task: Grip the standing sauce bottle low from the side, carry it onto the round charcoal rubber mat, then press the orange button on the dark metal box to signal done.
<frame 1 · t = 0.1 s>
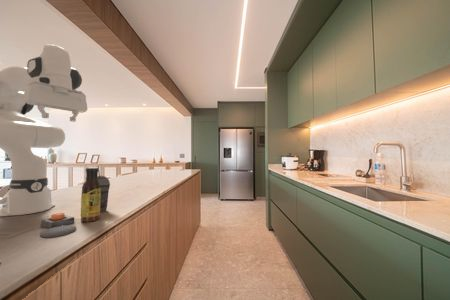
hand: (59, 119, 82), 39 cm above the worktop, tool pointing down, fingers open, 8 cm apart
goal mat: (58, 232, 67), on the worktop
button housing: (57, 224, 74), on the worktop
sauce bottle: (90, 220, 79), on the worktop
beverage cup: (100, 212, 90), on the worktop
done button: (57, 217, 74), point 2 cm above the worktop, slide at 0.0 cm
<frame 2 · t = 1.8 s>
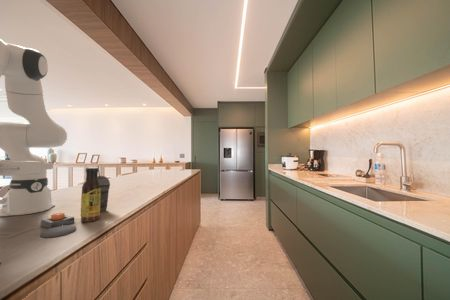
hand: (43, 165, 66), 22 cm above the worktop, tool horizontal, fingers open, 8 cm apart
nothing on the worktop moved.
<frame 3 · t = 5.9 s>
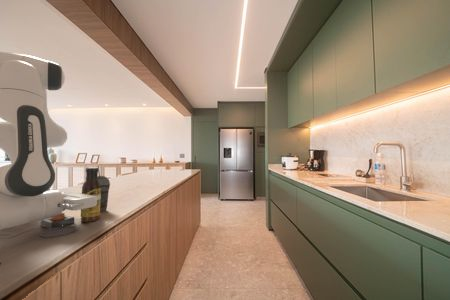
hand: (93, 195, 80), 9 cm above the worktop, tool horizontal, fingers closed on sauce bottle, 6 cm apart
sauce bottle: (90, 220, 79), on the worktop, touching gripper
everything else where it was.
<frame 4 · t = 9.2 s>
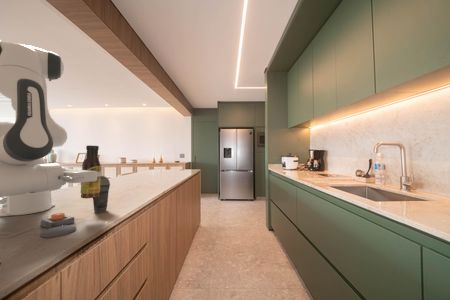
hand: (93, 173, 80), 18 cm above the worktop, tool horizontal, fingers closed on sauce bottle, 6 cm apart
sauce bottle: (90, 197, 79), point 8 cm above the worktop, touching gripper
everything else where it was.
when the fingers open (10 cm above the worktop, at t = 12.9 s): sauce bottle stays where it is, resting on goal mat.
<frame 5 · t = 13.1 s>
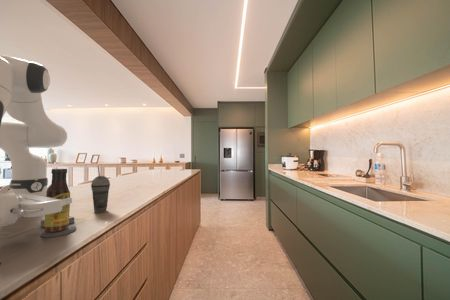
hand: (62, 198, 68), 11 cm above the worktop, tool horizontal, fingers open, 8 cm apart
sauce bottle: (57, 230, 67), resting on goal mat, touching gripper
everything else where it was.
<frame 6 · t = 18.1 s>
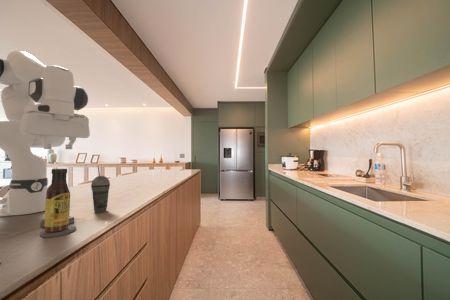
hand: (58, 149, 74), 27 cm above the worktop, tool pointing down, fingers open, 5 cm apart
sauce bottle: (57, 230, 67), resting on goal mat
everything else where it was.
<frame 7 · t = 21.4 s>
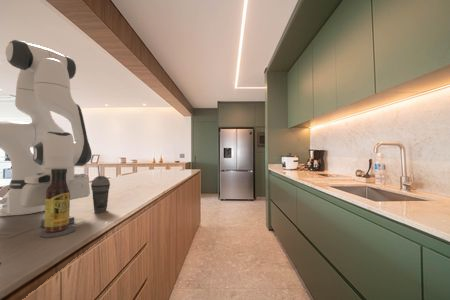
hand: (59, 214, 74), 4 cm above the worktop, tool pointing down, fingers closed, pressing on done button
done button: (57, 217, 74), point 2 cm above the worktop, slide at 0.0 cm, touching gripper
everything else where it was.
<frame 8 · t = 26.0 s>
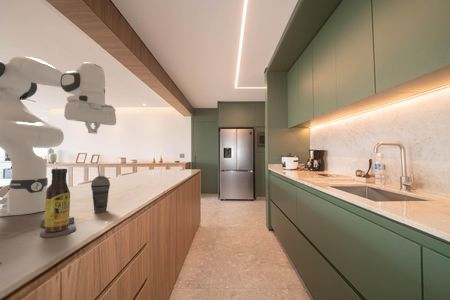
hand: (92, 133, 88), 34 cm above the worktop, tool pointing down, fingers closed
done button: (57, 219, 74), point 1 cm above the worktop, slide at 1.0 cm
everything else where it was.
at the end: sauce bottle 0.9 cm off-centre on the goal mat, point 0.4 cm above the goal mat's base; sauce bottle tilted 0°; done button slide at 1.0 cm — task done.
